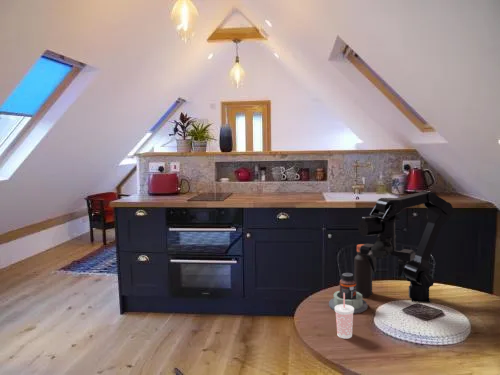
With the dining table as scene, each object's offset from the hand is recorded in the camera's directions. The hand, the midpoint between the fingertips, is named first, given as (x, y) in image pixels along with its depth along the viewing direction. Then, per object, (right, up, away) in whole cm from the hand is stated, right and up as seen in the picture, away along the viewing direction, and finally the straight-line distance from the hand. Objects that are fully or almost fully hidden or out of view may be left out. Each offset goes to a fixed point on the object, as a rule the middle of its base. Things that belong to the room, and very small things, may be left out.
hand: (386, 274), depth 145 cm
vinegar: (-5, -11, +13) cm, 18 cm away
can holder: (-13, -12, +3) cm, 18 cm away
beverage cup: (-20, -15, -19) cm, 31 cm away
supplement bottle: (-13, -12, +3) cm, 18 cm away
